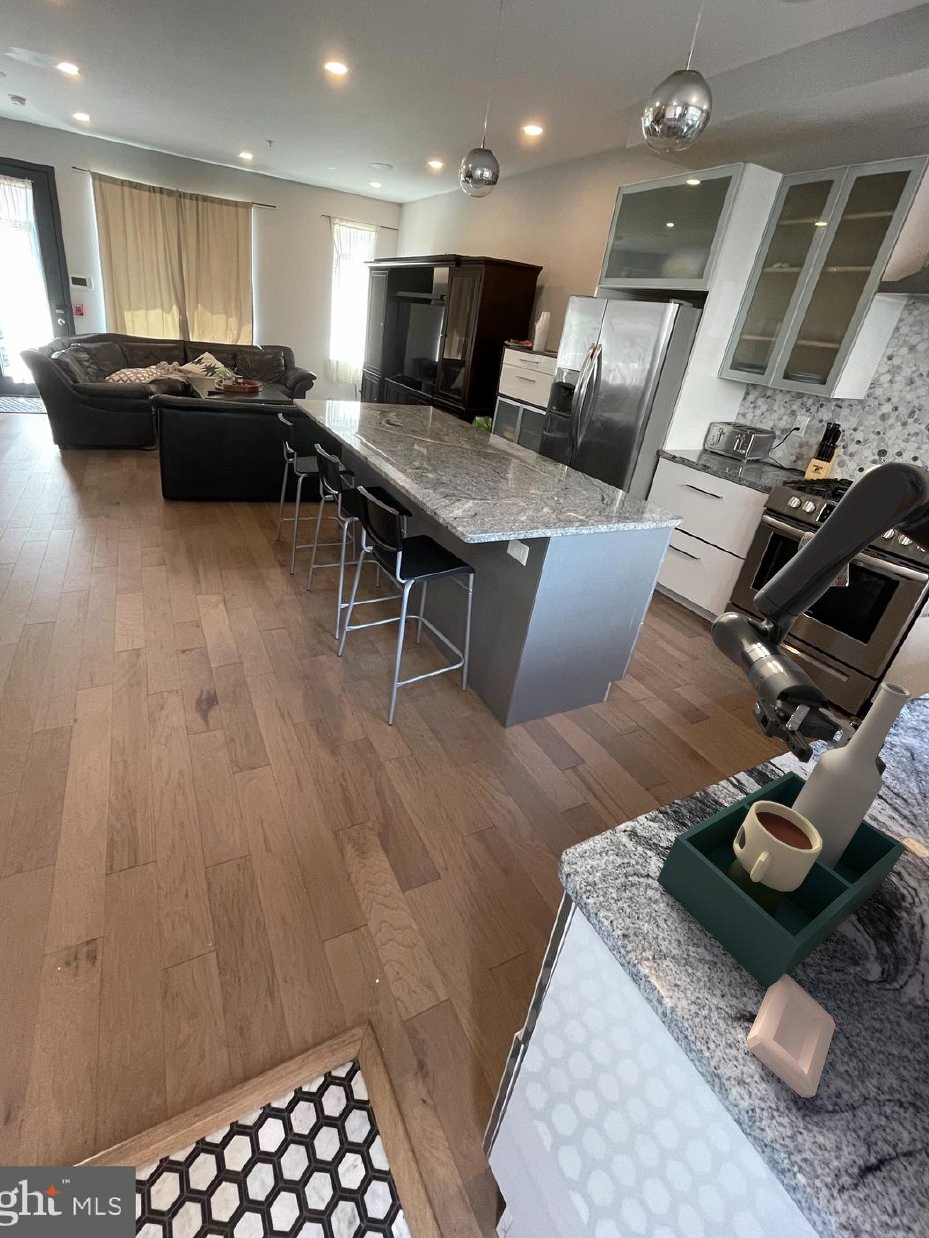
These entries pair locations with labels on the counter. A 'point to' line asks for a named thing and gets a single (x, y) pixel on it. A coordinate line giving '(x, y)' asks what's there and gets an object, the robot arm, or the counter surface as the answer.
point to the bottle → (849, 778)
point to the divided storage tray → (802, 911)
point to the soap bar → (792, 1035)
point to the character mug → (773, 853)
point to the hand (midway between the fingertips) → (843, 765)
